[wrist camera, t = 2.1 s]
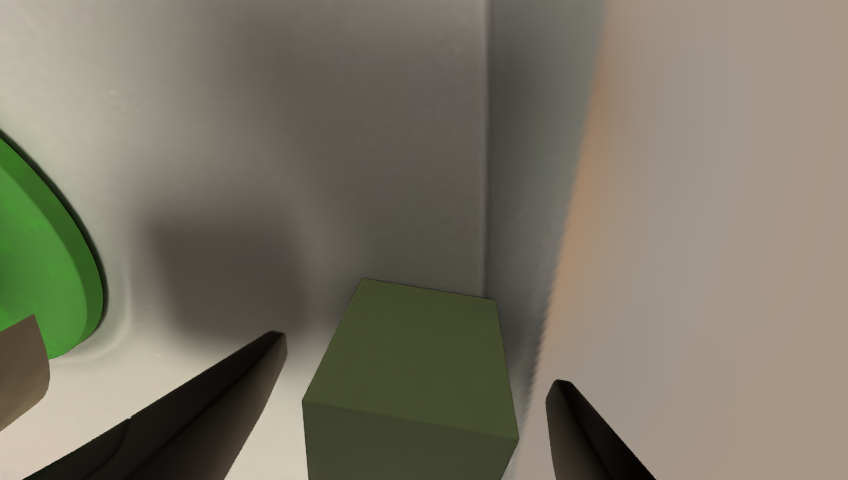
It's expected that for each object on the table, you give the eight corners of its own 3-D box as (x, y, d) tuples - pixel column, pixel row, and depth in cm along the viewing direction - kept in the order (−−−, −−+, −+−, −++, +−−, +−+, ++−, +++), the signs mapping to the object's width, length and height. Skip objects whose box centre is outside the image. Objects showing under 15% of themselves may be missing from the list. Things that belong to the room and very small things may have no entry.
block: (495, 299, 9) (520, 440, 5) (469, 389, 11) (474, 538, 7) (361, 277, 9) (300, 401, 6) (357, 369, 11) (310, 507, 7)
